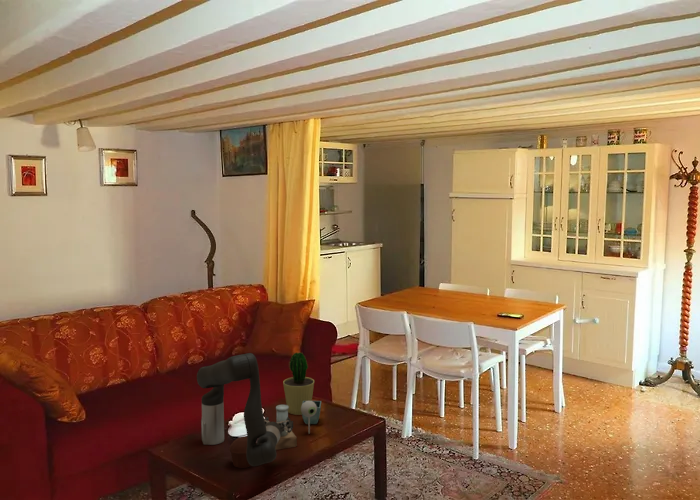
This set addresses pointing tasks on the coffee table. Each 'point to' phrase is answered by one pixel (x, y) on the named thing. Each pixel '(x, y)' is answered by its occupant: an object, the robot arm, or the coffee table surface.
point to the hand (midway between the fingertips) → (277, 419)
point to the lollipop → (308, 411)
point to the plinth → (287, 441)
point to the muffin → (239, 452)
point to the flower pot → (314, 418)
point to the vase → (282, 415)
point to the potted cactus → (298, 384)
